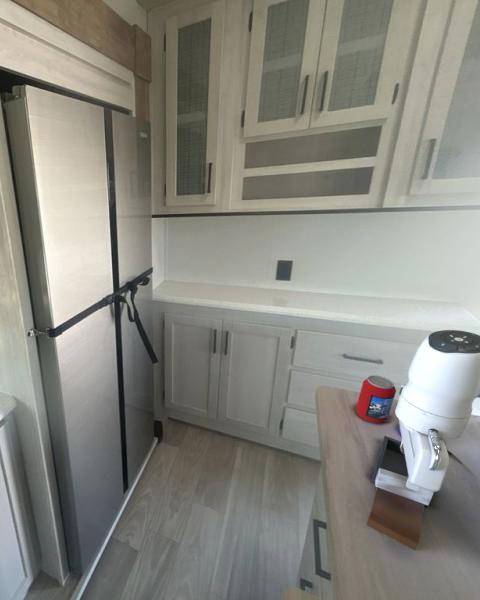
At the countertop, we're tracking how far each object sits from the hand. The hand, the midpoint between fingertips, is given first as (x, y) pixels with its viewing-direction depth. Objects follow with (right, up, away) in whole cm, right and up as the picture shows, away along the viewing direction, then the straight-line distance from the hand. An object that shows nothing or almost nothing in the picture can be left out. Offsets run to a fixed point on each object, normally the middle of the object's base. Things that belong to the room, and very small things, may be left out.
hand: (408, 468), depth 66 cm
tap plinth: (-1, -11, +2) cm, 11 cm away
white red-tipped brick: (+1, -6, +2) cm, 7 cm away
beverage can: (+16, +1, +27) cm, 32 cm away
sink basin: (+9, -7, +10) cm, 15 cm away
